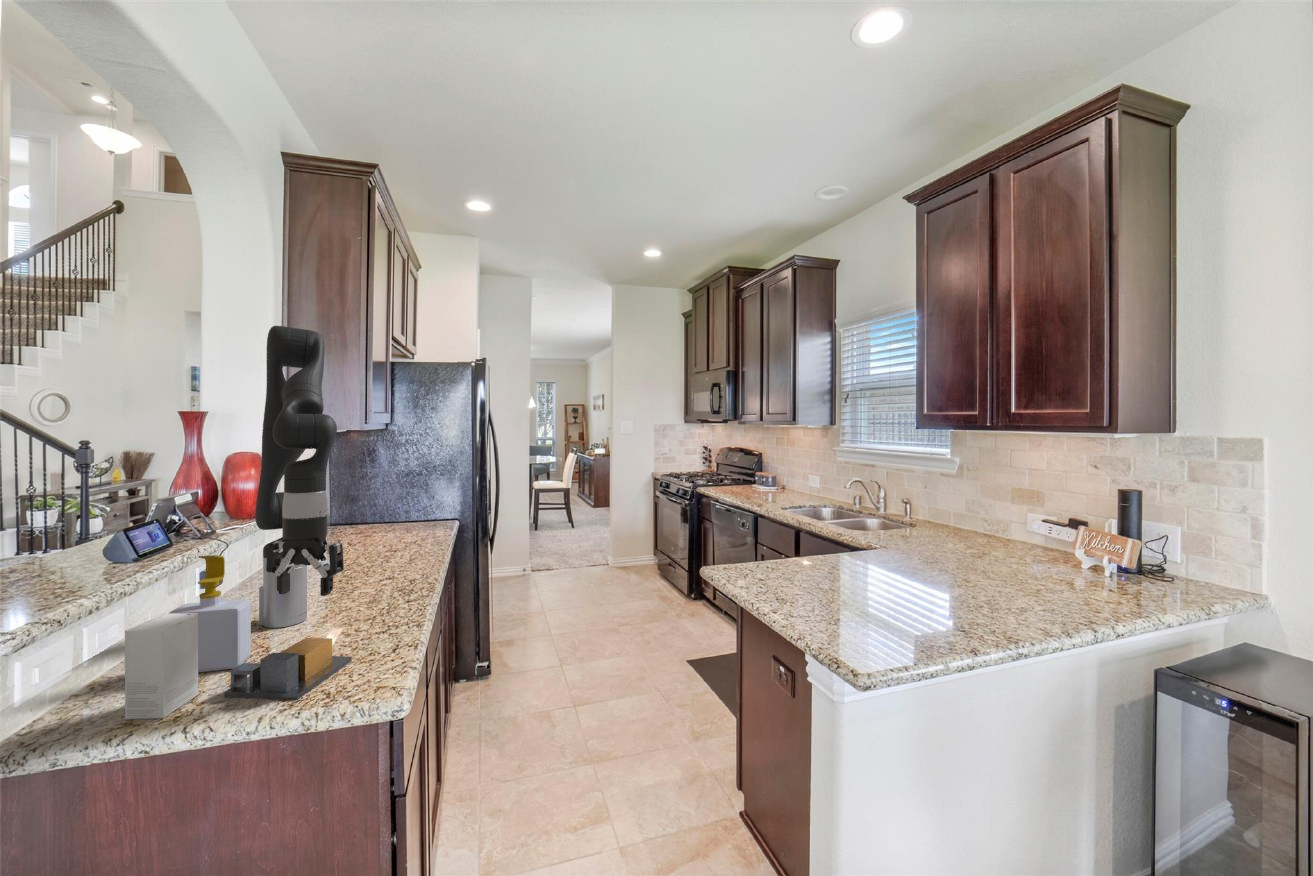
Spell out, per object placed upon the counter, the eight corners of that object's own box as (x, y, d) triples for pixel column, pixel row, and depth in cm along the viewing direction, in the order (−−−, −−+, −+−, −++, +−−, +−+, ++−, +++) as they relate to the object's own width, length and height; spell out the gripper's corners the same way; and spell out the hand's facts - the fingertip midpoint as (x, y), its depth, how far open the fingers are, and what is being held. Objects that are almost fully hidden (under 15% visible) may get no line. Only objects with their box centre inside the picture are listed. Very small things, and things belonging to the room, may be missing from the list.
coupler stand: (224, 697, 97) (224, 659, 97) (287, 659, 113) (287, 627, 113) (298, 699, 97) (297, 661, 97) (351, 661, 113) (351, 628, 113)
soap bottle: (165, 677, 105) (164, 560, 104) (183, 662, 111) (183, 552, 111) (238, 669, 109) (238, 556, 108) (252, 656, 115) (251, 549, 115)
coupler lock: (276, 679, 102) (276, 654, 102) (306, 661, 110) (306, 637, 110) (305, 680, 102) (305, 654, 102) (332, 662, 110) (332, 638, 110)
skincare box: (164, 696, 98) (163, 612, 97) (202, 695, 98) (201, 611, 98) (122, 721, 89) (121, 629, 89) (164, 719, 90) (163, 629, 90)
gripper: (256, 515, 102) (255, 599, 102) (327, 518, 101) (327, 601, 102) (284, 509, 109) (284, 587, 110) (351, 511, 109) (351, 589, 109)
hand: (305, 594), depth 106 cm, fingers open, 8 cm apart
